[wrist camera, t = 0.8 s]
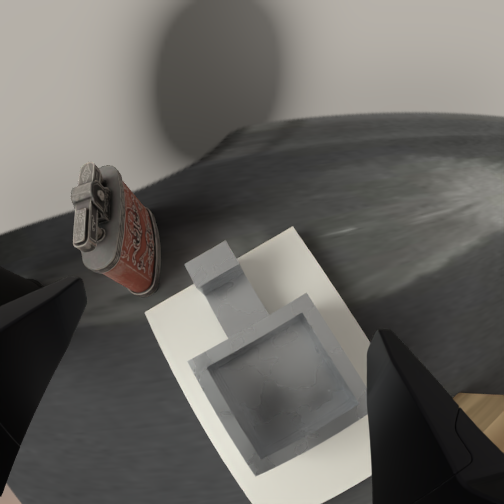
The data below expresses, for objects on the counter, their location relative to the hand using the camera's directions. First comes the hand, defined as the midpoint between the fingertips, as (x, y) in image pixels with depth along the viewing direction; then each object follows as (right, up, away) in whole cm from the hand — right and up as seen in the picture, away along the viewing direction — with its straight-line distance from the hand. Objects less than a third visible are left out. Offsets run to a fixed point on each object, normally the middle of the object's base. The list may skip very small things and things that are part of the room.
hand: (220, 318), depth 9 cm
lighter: (-8, +2, +18) cm, 20 cm away
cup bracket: (+2, -5, +13) cm, 14 cm away
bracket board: (+3, -8, +13) cm, 15 cm away
